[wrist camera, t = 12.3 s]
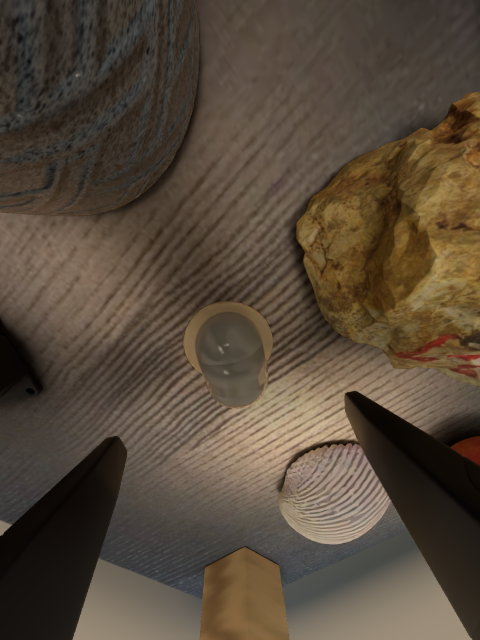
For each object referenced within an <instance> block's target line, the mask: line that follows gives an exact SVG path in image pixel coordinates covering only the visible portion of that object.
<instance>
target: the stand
mask: <svg viewBox="0 0 480 640" xmlns="http://www.w3.org/2000/svg"><path fill="white" fill-rule="evenodd" d="M200 640H289V633H288V626H287V619H286V612H285V605H284V598H283V591H282V583H281V576H280V569H279V565H277V564H275V563H273V562H272V561H270V560H268V559H266V558H264V557H262V556H261V555H259V554H257V553H255V552H253V551H251V550H250V549H248V548H246V547H243V548H241V549H239V550H237V551H235V552H234V553H232V554H230V555H228V556H226V557H224V558H222V559H220V560H218V561H216V562H215V563H213V564H211V565H209V566H207V567H205V574H204V588H203V603H202V616H201V631H200Z"/></svg>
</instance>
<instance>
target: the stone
mask: <svg viewBox="0 0 480 640" xmlns="http://www.w3.org/2000/svg"><path fill="white" fill-rule="evenodd" d="M195 352H196V357H197V360H198V363H199V366H200V369H201V371H202V374H203V377H204V380H205V383H206V386H207V389H208V391H209V393H210V394H211V396H212V397H213V398H214V399H215V400H216V401H217V402H218V403H220V404H221V405H223V406H226V407H230V408H237V409H238V408H244V407H247V406H250V405H252V404H253V403H255V402H256V401H257V400H258V399H259V398H260V397H261V396H262V395H263V393H264V391H265V389H266V387H267V383H268V368H267V363H266V358H265V352H264V347H263V342H262V338H261V334H260V332H259V330H258V328H257V326H256V325H255V324H254V323H253V322H252V320H250V319H249V318H248V317H246V316H245V315H242V314H240V313H237V312H221V313H217V314H215V315H213V316H211V317H210V318H208V319H207V320H206V321H205V322H204V323H203V324H202V325H201V327H200V328H199V330H198V333H197V335H196V339H195Z"/></svg>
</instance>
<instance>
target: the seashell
mask: <svg viewBox="0 0 480 640" xmlns="http://www.w3.org/2000/svg"><path fill="white" fill-rule="evenodd" d="M390 502H391V500H390V498H389V496H388V495H387V493H386V491H385V489H384V488H383V486H382V484H381V482H380V481H379V479H378V477H377V476H376V474H375V472H374V470H373V469H372V467H371V465H370V463H369V462H368V460H367V458H366V456H365V454H364V452H363V450H362V448H361V446H359V444H354V446H352V444H351V443H349V444H347V445H346V446H343V445H342V444H339V445H338V446H337V445H336V444H335V445H331V447H330V448H328V447H327V446H326V445H325V446H324V447H322V448H317V449H316V450H315V451H313V450H311V451H310V452H309V453H308V454H307V453H305V454H304V455H303V456H302V457H299V458H298V460H297V461H296V462H294V463H293V464H292V465H291V467H290V468H289V469H288V470H287V475H286V478H285V482H284V486H283V488H282V491H281V492H280V493H279V495H278V504H279V507H280V511H281V513H282V515H283V516H284V518H285V519H286V521H287V522H288V524H289V525H290V526H291V527H292V528H293V529H294V530H296V531H297V532H299V533H300V534H302V535H303V536H305V537H307V538H308V539H310V540H313V541H316V542H320V543H325V544H340V543H345V542H350V541H351V540H353V539H355V538H357V537H359V536H361V535H363V534H364V533H366V532H367V531H368V530H369V529H370V528H371V527H372V526H374V525H375V524H376V523H377V522H378V520H379V519H380V518H381V517H382V516H383V514H384V512H385V511H386V509H387V508H388V505H389V503H390Z"/></svg>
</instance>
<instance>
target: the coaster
mask: <svg viewBox="0 0 480 640" xmlns="http://www.w3.org/2000/svg"><path fill="white" fill-rule="evenodd" d="M221 312H237V313H240V314H242V315H245V316H246V317H248V318H249V319H250V320H252V322H253V323H254V324H255V325H256V326H257V328H258V330H259V332H260V334H261V338H262V342H263V347H264V352H265V358H266V362H267V361H268V359H269V357H270V355H271V352H272V347H273V337H272V333H271V329H270V327H269V325H268V323H267V321H266V319H265V318H264V317H263V316H262V315H261V314H260V313H259V312H258V311H257V310H255V309H254V308H252V307H250V306H248V305H246V304H243V303H239V302H233V301H223V302H217V303H214V304H211V305H208V306H206V307H204V308H203V309H201V310H200V311H198V312H197V313H196V314H195V315H194V316H193V317H192V319H191V320H190V322H189V323H188V325H187V328H186V330H185V333H184V339H183V345H184V351H185V354H186V356H187V359H188V360H189V362H190V364H191V365H192V366H193V367H194V368H195V369H196V370H197V371H198V372H200V373H201V374H202V371H201V369H200V366H199V363H198V360H197V357H196V352H195V339H196V335H197V333H198V330H199V328H200V327H201V325H202V324H203V323H204V322H205V321H206V320H207V319H208V318H210V317H211V316H213V315H215V314H217V313H221Z"/></svg>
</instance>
